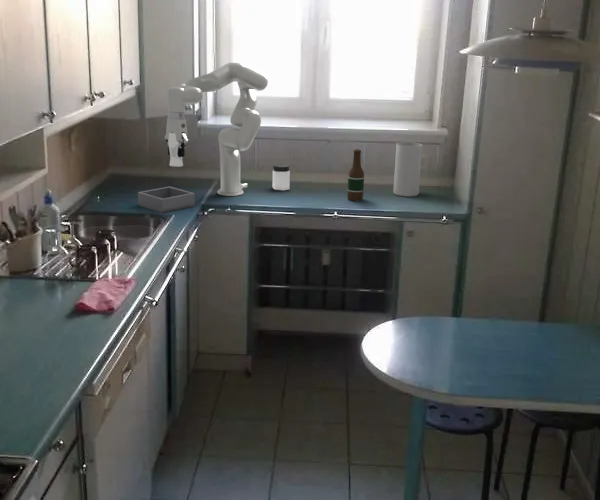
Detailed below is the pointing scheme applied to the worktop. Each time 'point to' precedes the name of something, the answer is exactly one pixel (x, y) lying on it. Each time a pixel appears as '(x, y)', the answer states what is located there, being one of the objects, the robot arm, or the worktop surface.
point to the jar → (281, 177)
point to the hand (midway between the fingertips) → (176, 155)
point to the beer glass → (174, 151)
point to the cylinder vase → (407, 169)
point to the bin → (166, 199)
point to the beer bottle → (355, 178)
